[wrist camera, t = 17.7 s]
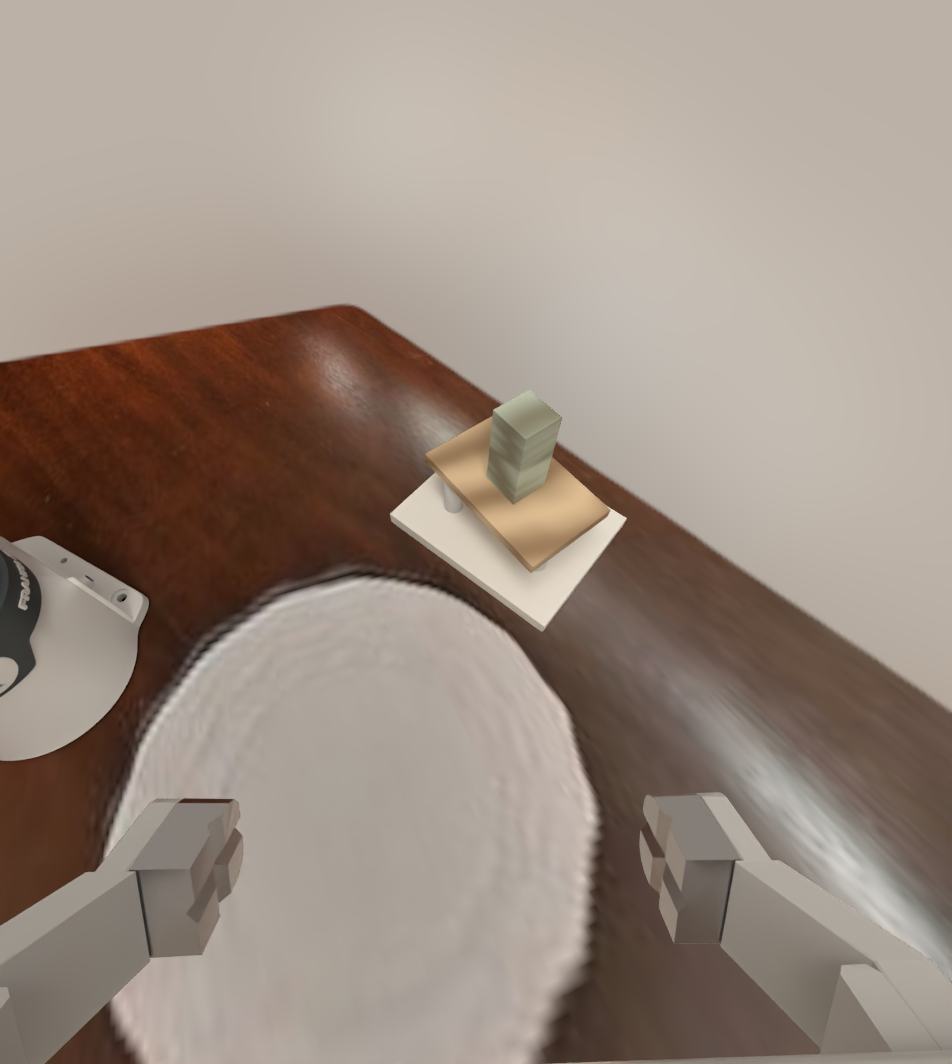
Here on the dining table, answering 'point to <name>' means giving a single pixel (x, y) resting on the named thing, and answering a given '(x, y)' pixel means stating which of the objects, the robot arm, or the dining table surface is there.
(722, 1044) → the dining table surface
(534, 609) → the peg plate
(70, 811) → the dining table surface
